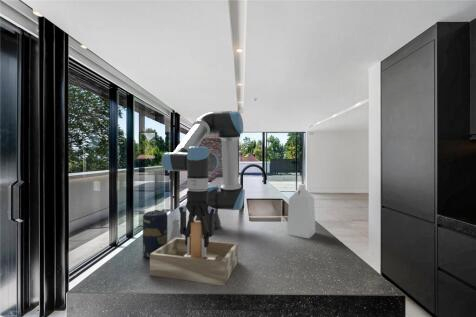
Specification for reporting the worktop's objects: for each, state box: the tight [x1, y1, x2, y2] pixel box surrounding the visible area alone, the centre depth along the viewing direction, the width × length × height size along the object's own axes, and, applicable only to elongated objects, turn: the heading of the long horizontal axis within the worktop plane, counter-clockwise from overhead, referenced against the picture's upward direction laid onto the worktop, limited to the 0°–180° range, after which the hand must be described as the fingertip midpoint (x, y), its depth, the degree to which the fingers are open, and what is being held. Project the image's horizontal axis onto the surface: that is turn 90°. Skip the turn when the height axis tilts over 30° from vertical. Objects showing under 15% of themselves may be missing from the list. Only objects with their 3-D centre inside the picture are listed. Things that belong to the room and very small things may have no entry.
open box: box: [149, 237, 239, 286], centre depth 89 cm, size 18×26×7 cm
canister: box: [142, 209, 169, 258], centre depth 101 cm, size 10×10×18 cm
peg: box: [190, 220, 204, 259], centre depth 89 cm, size 4×4×16 cm
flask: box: [167, 218, 184, 243], centre depth 117 cm, size 7×7×10 cm
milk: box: [286, 183, 316, 239], centre depth 132 cm, size 12×12×26 cm
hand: (196, 254), depth 89 cm, fingers open, 5 cm apart
